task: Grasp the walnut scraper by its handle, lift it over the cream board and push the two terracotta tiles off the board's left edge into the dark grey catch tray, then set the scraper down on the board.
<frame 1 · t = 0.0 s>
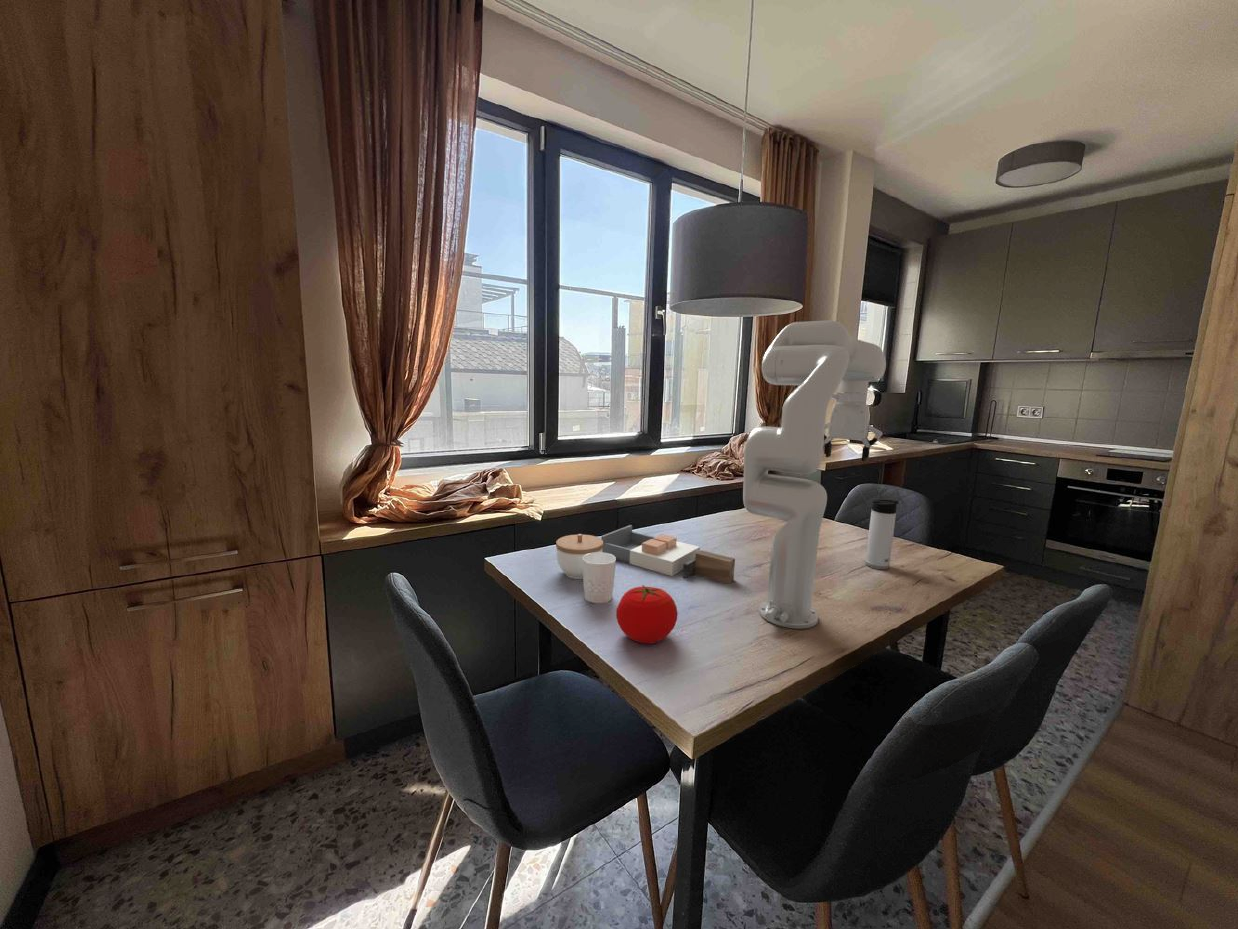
hand: (845, 458, 140), 31 cm above the table, fingers open, 9 cm apart
scraper: (713, 577, 131), on the table
tile b: (664, 545, 143), point 4 cm above the table, touching board
white cup: (598, 598, 116), on the table
board: (664, 561, 141), on the table
catch tray: (629, 552, 147), on the table
tile a: (653, 550, 138), point 4 cm above the table, touching board
lidded bowl: (579, 574, 130), on the table
tomato: (646, 637, 99), on the table
travel mug: (877, 566, 142), on the table
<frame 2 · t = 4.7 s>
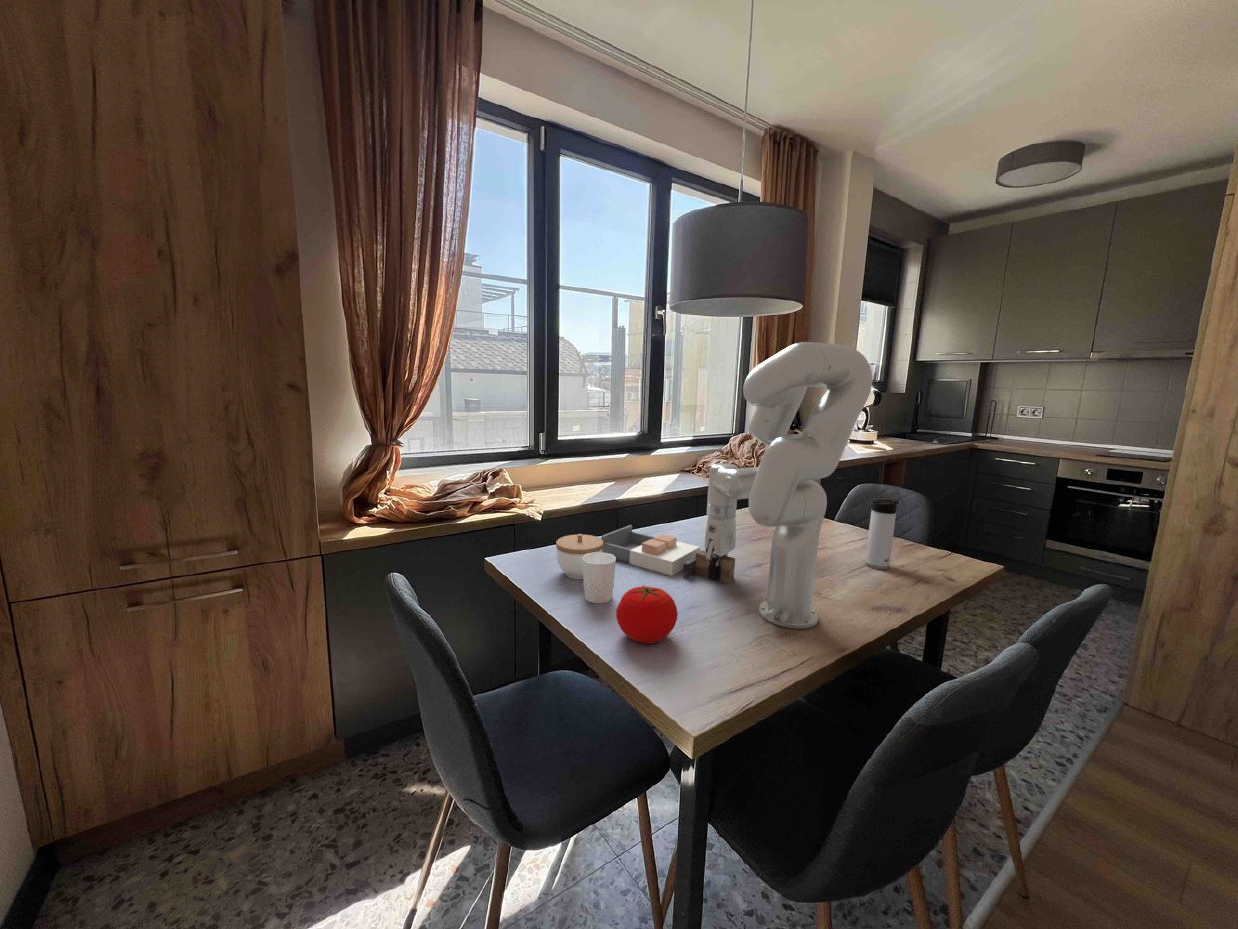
hand: (717, 575, 130), 0 cm above the table, fingers closed on scraper, 3 cm apart
scraper: (713, 576, 131), on the table, touching gripper
everything else where it was.
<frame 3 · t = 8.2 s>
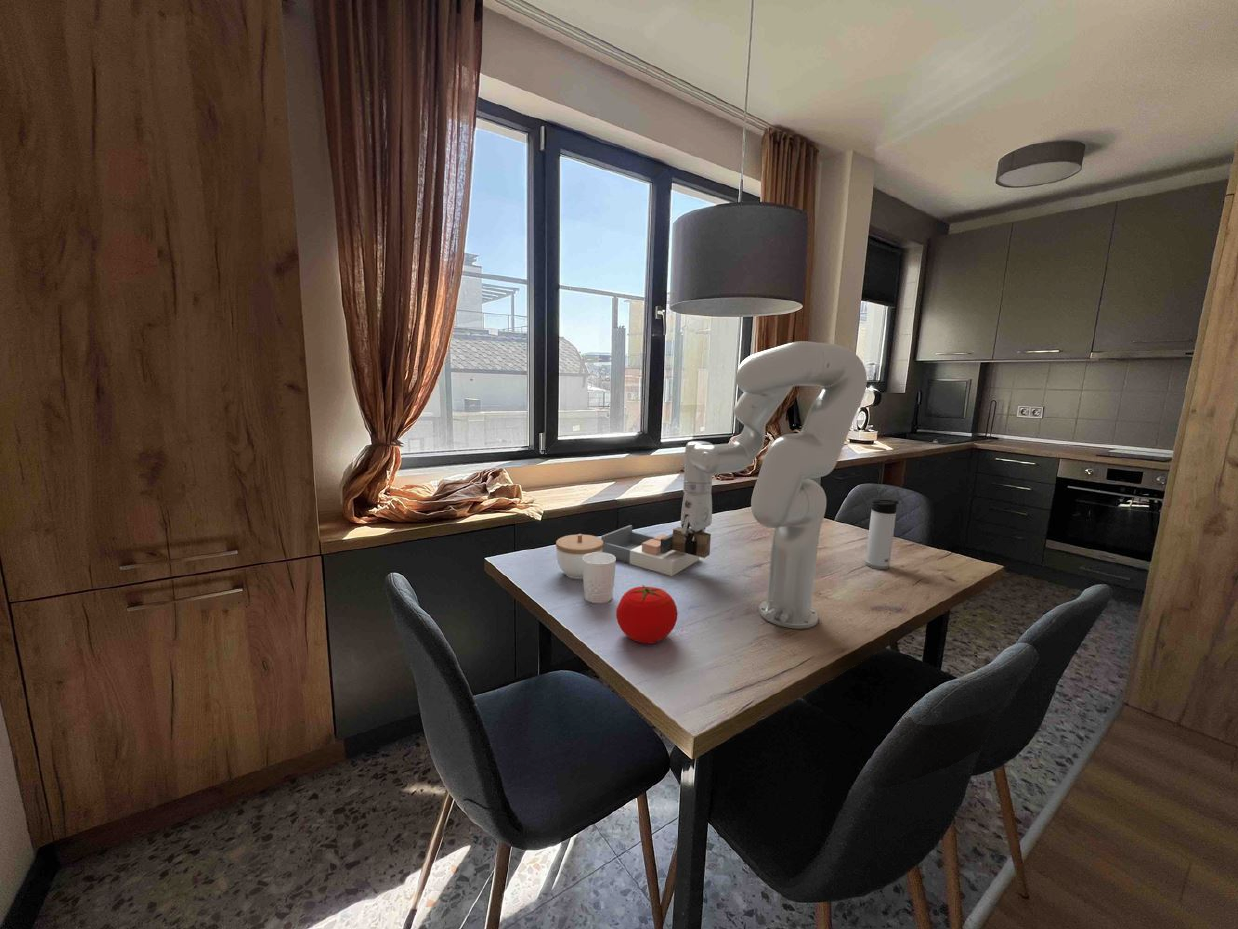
hand: (693, 551, 133), 6 cm above the table, fingers closed on scraper, 3 cm apart
scraper: (690, 552, 134), point 5 cm above the table, touching gripper
everything else where it was.
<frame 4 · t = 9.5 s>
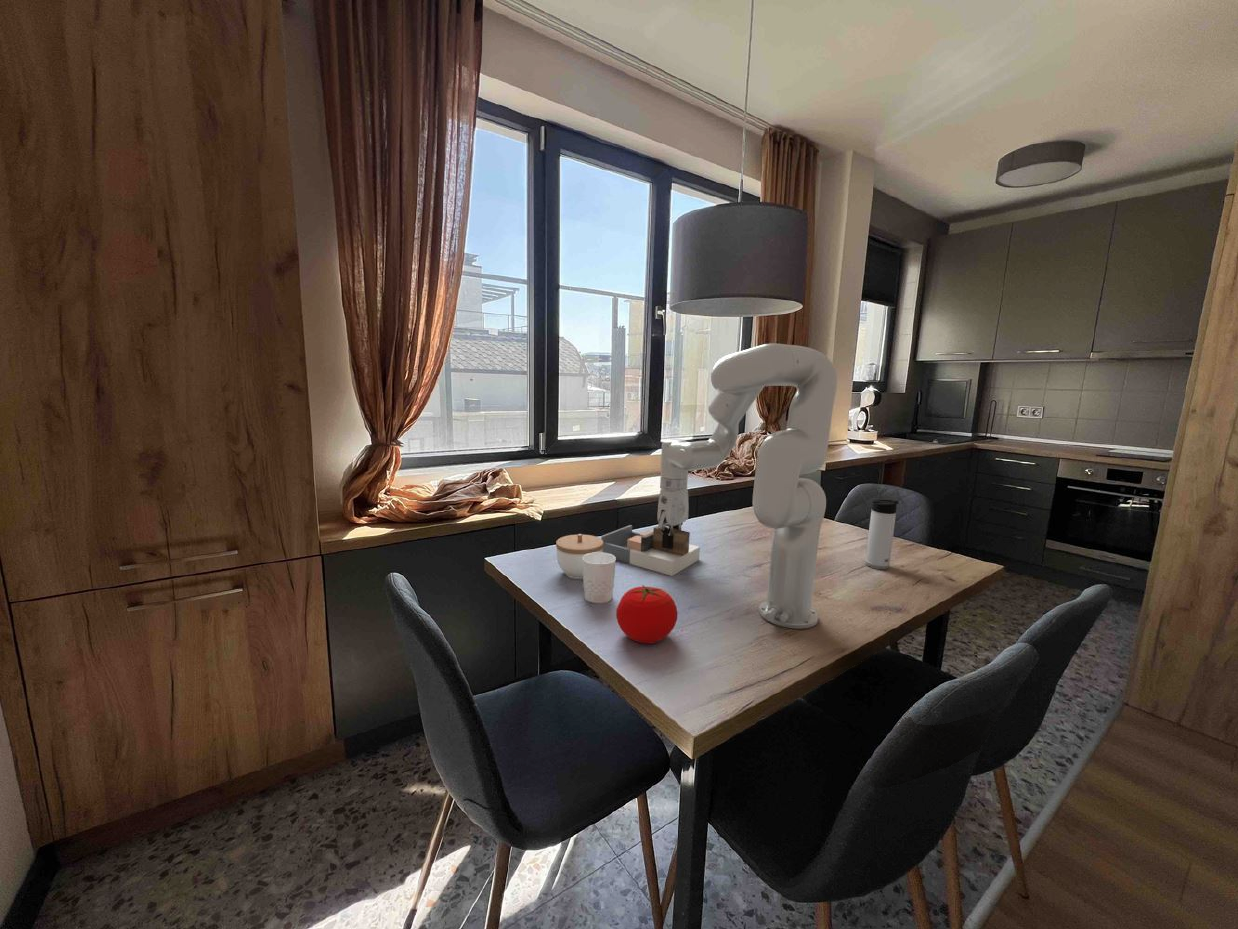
hand: (670, 545, 138), 6 cm above the table, fingers closed on scraper, 3 cm apart
scraper: (670, 550, 138), point 4 cm above the table, touching gripper
tile b: (650, 541, 146), point 4 cm above the table, touching board
tile a: (639, 547, 141), point 4 cm above the table, touching board
everything else where it was.
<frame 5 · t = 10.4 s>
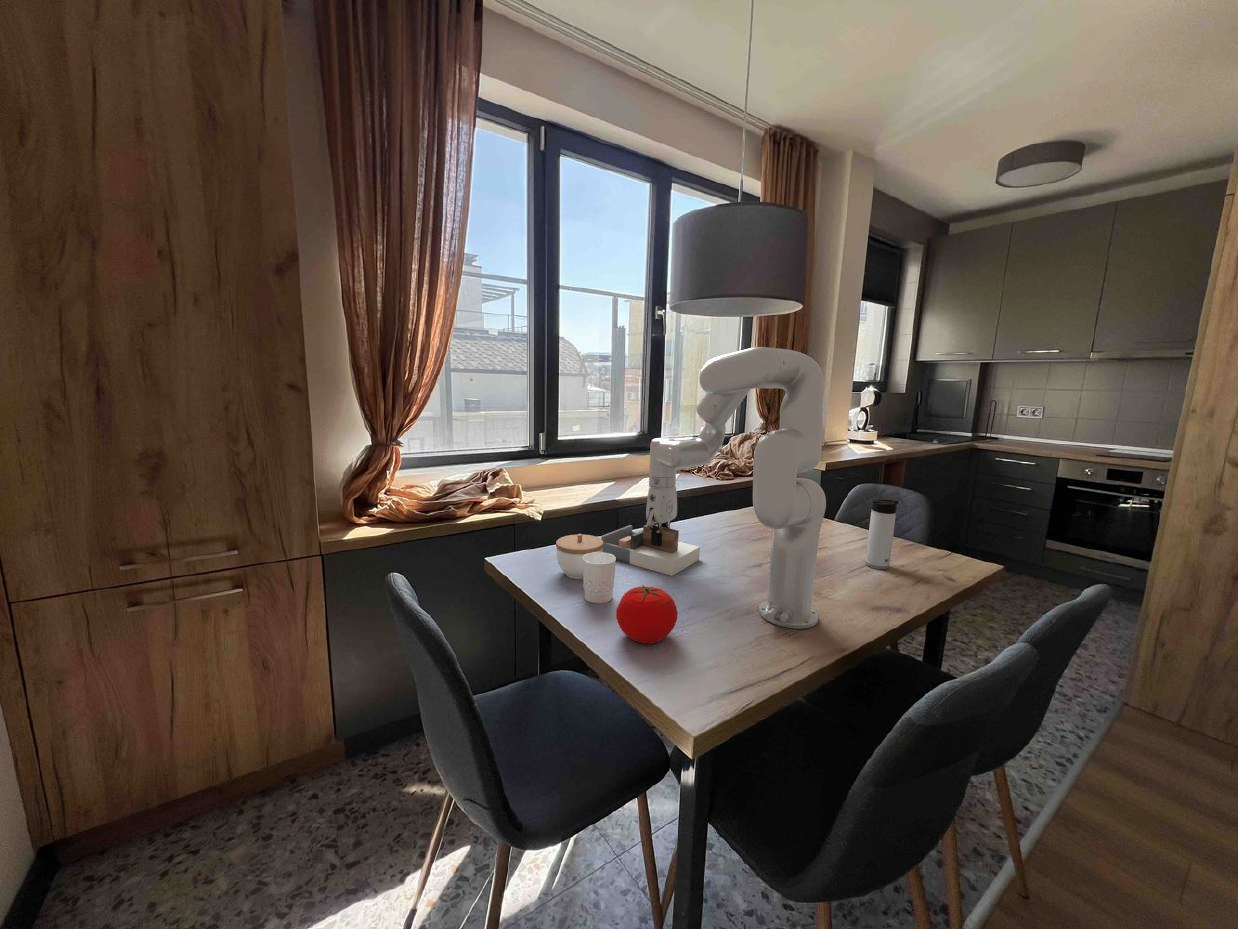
hand: (659, 543, 140), 6 cm above the table, fingers closed on scraper, 3 cm apart
scraper: (659, 548, 140), point 4 cm above the table, touching gripper
tile b: (644, 544, 147), point 3 cm above the table, tilted 59°, touching catch tray
tile a: (630, 547, 143), point 3 cm above the table, tilted 92°, touching catch tray
everything else where it was.
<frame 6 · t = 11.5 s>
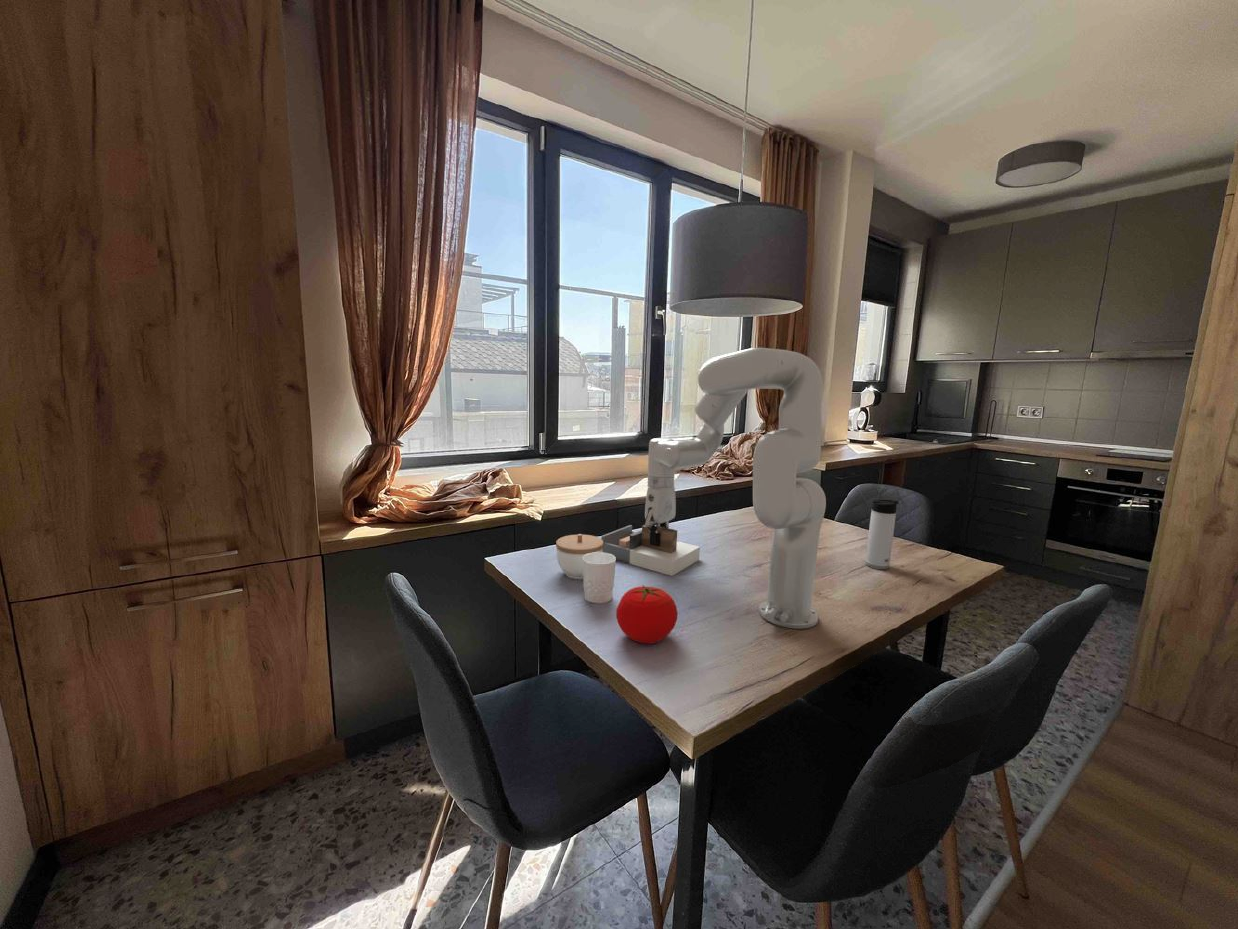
hand: (658, 543, 140), 5 cm above the table, fingers closed on scraper, 3 cm apart
scraper: (658, 548, 140), point 4 cm above the table, touching board, gripper
tile b: (640, 542, 148), point 3 cm above the table, tilted 90°, touching catch tray
everything else where it was.
when the fingers open (6 cm above the table, at t = 12.2 s): scraper stays where it is, resting on board.
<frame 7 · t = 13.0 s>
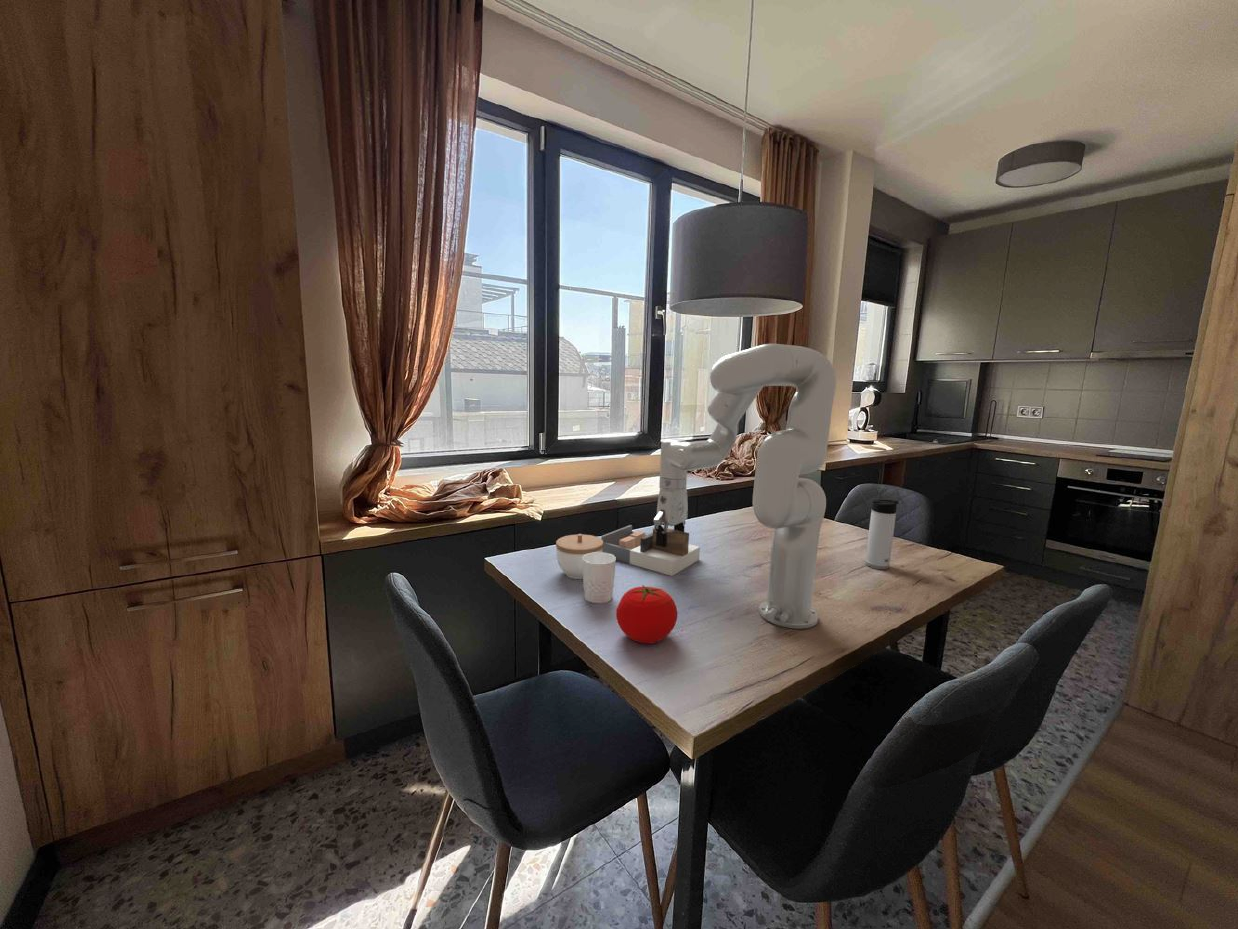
hand: (670, 541, 138), 7 cm above the table, fingers open, 9 cm apart
scraper: (669, 551, 138), point 4 cm above the table, touching board
everything else where it was.
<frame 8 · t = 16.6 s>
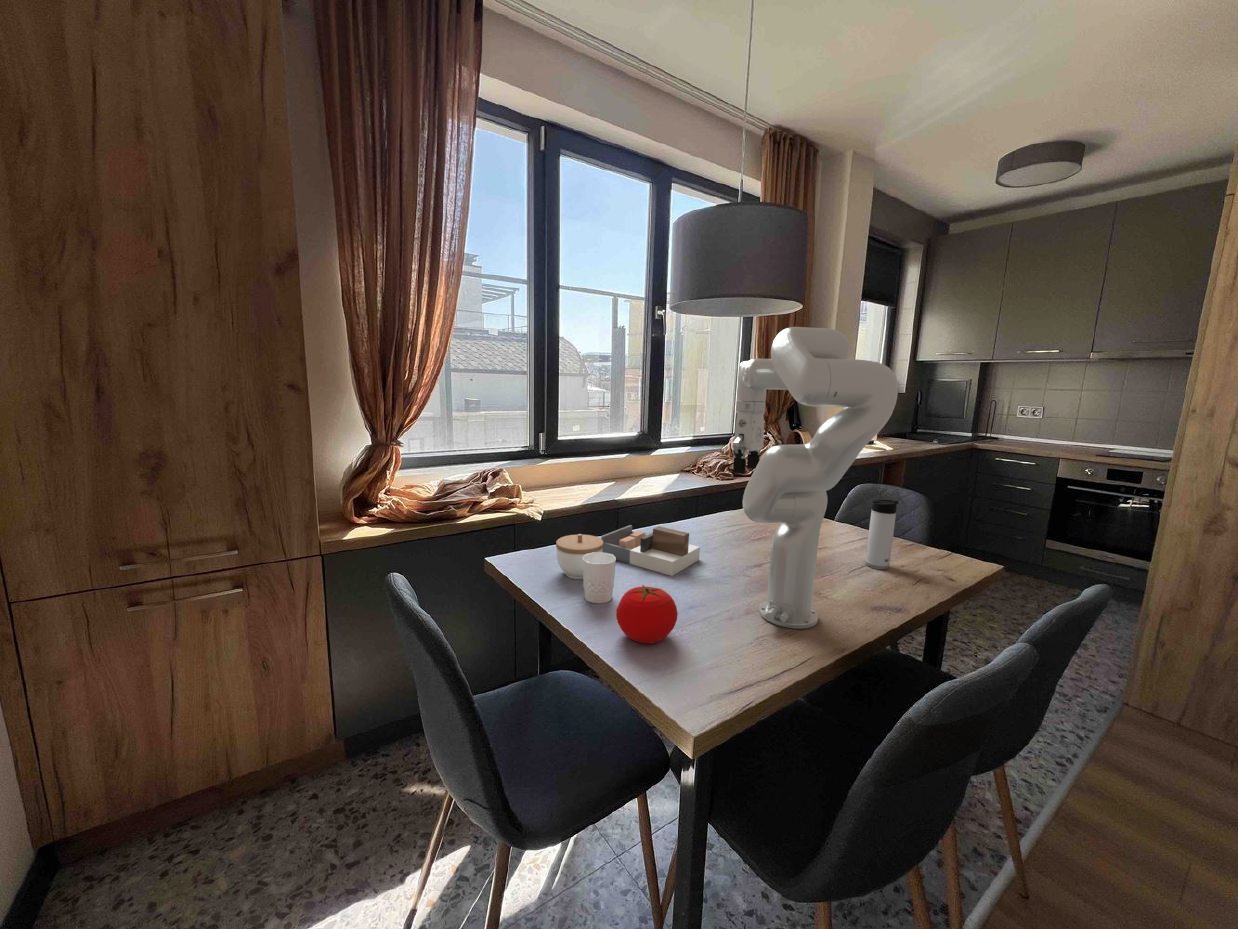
hand: (745, 470, 132), 28 cm above the table, fingers open, 9 cm apart
nothing on the table moved.
at the end: tile a inside the target area (5.0 cm from its centre), point 3.1 cm above the table; tile b inside the target area (3.9 cm from its centre), point 3.1 cm above the table; the gripper is holding nothing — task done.
